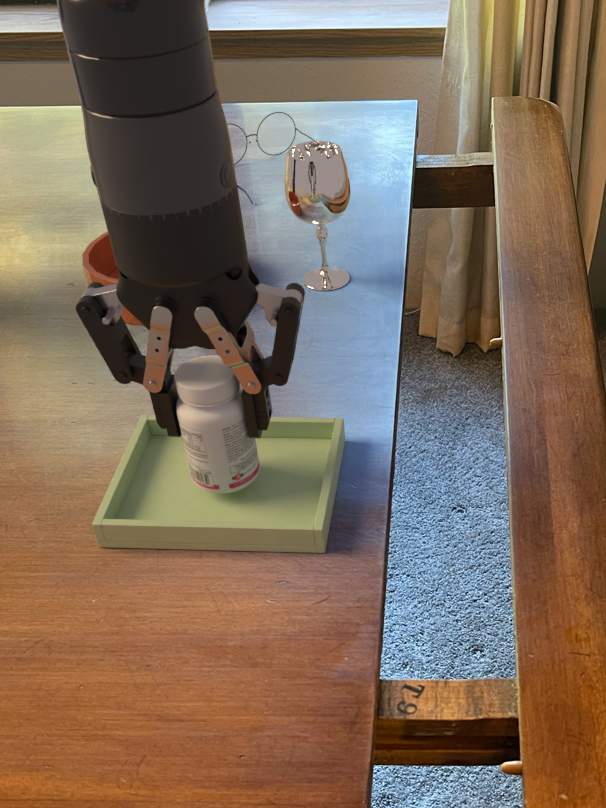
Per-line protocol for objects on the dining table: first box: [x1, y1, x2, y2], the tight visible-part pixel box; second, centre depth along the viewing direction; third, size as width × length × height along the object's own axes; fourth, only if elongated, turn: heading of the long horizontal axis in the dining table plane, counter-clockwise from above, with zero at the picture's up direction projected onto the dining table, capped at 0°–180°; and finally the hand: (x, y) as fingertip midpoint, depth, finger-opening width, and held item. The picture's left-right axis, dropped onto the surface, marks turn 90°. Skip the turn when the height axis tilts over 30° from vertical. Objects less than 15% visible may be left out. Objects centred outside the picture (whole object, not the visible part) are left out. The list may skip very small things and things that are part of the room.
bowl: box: [81, 231, 144, 326], centre depth 88 cm, size 13×13×4 cm
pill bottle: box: [174, 354, 260, 493], centre depth 63 cm, size 5×5×8 cm
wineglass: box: [284, 140, 352, 292], centre depth 85 cm, size 6×6×12 cm
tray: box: [91, 414, 346, 554], centre depth 66 cm, size 15×12×2 cm
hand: (216, 429), depth 64 cm, fingers closed on pill bottle, 4 cm apart
